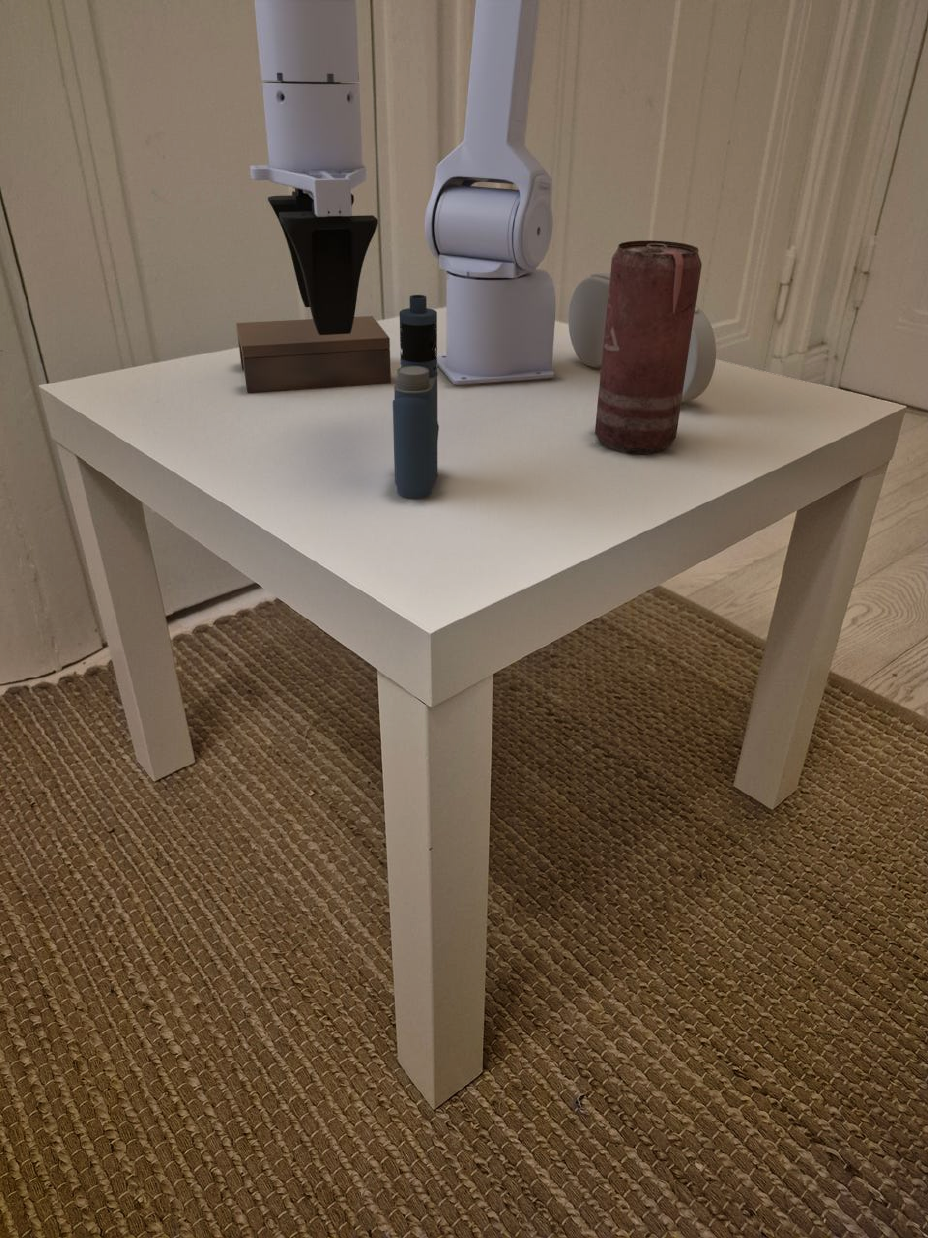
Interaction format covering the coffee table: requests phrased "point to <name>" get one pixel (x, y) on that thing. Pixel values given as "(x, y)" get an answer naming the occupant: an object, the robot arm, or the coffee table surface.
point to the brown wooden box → (312, 355)
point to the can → (646, 344)
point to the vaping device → (416, 402)
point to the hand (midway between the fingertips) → (326, 318)
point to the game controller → (590, 330)
